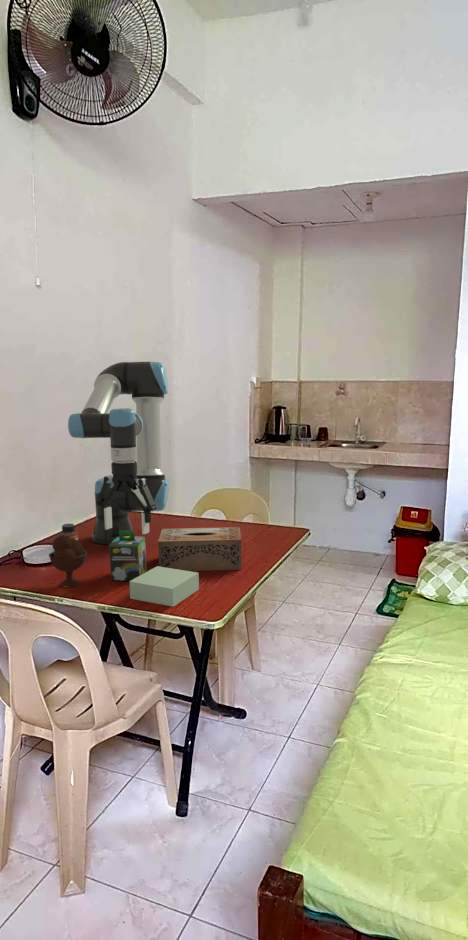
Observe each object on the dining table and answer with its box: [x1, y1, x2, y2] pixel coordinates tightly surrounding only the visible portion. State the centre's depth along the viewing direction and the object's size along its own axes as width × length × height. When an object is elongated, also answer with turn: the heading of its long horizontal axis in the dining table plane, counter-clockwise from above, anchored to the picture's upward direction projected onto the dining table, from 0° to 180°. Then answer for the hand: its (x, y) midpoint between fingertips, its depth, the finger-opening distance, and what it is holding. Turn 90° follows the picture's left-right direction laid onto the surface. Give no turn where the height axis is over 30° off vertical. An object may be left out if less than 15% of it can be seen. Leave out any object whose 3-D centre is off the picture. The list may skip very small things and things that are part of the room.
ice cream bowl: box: [48, 535, 88, 587], centre depth 186 cm, size 11×11×15 cm
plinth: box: [128, 565, 200, 607], centre depth 178 cm, size 14×14×5 cm
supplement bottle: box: [59, 523, 79, 541], centre depth 211 cm, size 6×6×11 cm
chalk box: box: [108, 530, 148, 582], centre depth 192 cm, size 9×9×15 cm
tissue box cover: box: [157, 526, 243, 572], centre depth 204 cm, size 26×14×10 cm, turn 92°
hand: (126, 530), depth 191 cm, fingers open, 13 cm apart
